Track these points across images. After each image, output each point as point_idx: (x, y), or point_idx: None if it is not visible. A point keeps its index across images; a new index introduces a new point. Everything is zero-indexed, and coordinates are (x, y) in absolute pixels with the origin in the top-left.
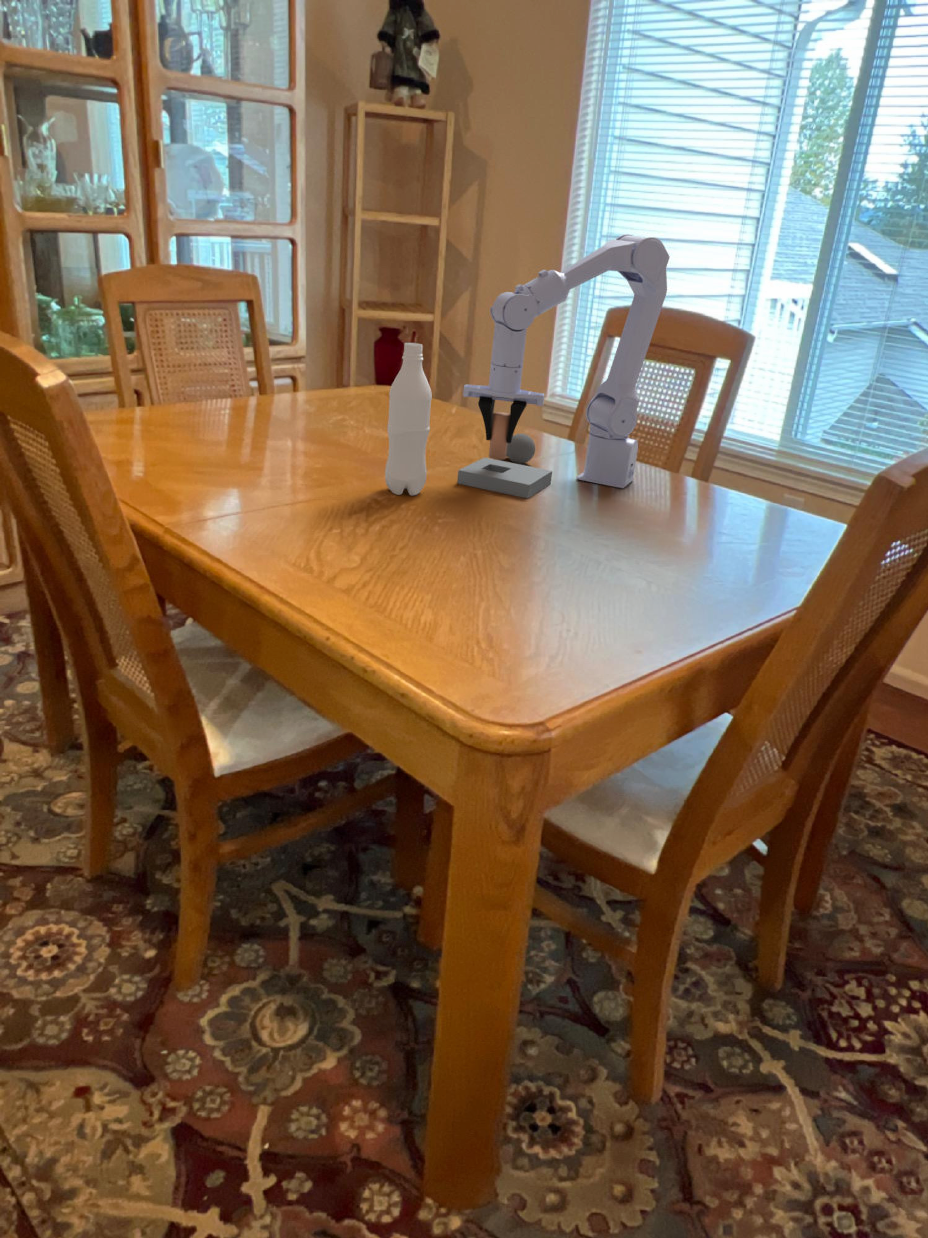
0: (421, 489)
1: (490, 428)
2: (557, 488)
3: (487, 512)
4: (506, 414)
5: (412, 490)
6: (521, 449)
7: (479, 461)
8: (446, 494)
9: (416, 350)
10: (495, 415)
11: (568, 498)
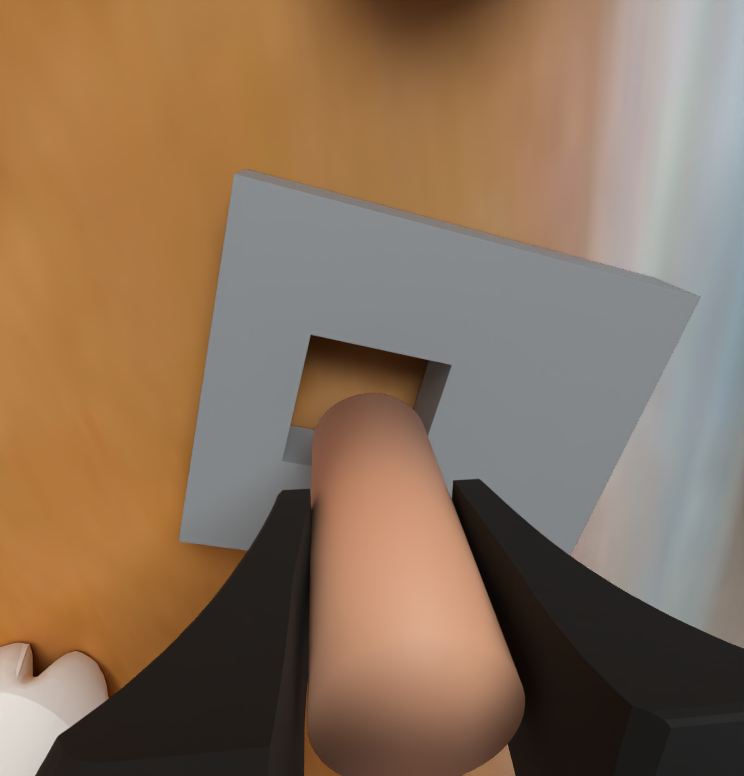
0: (104, 679)
1: (308, 630)
2: (678, 343)
3: None
4: (475, 707)
5: None
6: None
7: (231, 308)
8: None
9: None
10: (352, 770)
11: (704, 470)
